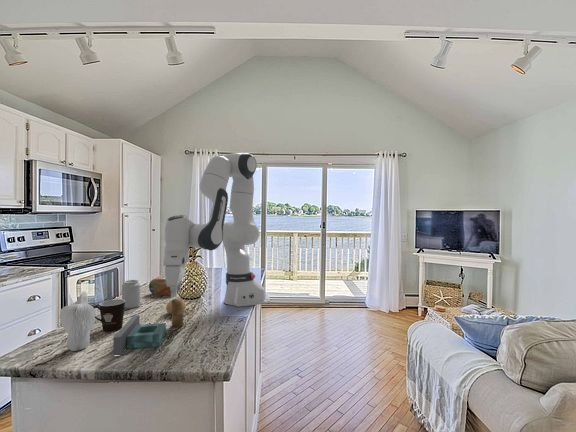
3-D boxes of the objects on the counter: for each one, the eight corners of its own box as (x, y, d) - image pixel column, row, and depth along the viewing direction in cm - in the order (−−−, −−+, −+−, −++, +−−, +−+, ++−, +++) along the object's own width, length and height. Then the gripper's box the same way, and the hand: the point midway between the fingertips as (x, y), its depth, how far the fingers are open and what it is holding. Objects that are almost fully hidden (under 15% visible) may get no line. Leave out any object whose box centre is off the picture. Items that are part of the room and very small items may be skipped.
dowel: (183, 323, 123) (183, 298, 123) (182, 327, 119) (181, 301, 119) (173, 324, 122) (172, 298, 122) (171, 328, 118) (170, 301, 118)
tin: (148, 294, 164) (148, 278, 164) (152, 292, 167) (152, 277, 167) (174, 296, 161) (173, 280, 161) (177, 294, 164) (177, 278, 164)
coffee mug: (130, 325, 120) (130, 300, 120) (111, 334, 112) (111, 307, 112) (108, 322, 124) (107, 297, 124) (87, 330, 116) (87, 303, 116)
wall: (139, 330, 115) (139, 314, 115) (120, 356, 96) (120, 337, 95) (133, 331, 115) (133, 315, 115) (113, 356, 95) (113, 337, 95)
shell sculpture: (71, 357, 95) (70, 298, 95) (58, 350, 99) (57, 294, 99) (99, 346, 102) (98, 292, 102) (86, 341, 106) (85, 289, 106)
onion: (164, 317, 130) (164, 300, 130) (168, 311, 138) (168, 295, 138) (184, 315, 132) (184, 299, 131) (186, 309, 139) (186, 294, 139)
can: (143, 304, 147) (143, 279, 147) (134, 309, 139) (133, 283, 139) (128, 304, 148) (128, 278, 147) (118, 309, 140) (118, 282, 140)
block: (165, 334, 112) (165, 323, 112) (159, 346, 102) (159, 334, 102) (136, 336, 110) (136, 325, 110) (126, 348, 101) (126, 336, 100)
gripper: (173, 254, 129) (172, 287, 129) (162, 261, 109) (161, 300, 109) (188, 253, 130) (188, 286, 131) (181, 261, 110) (180, 300, 110)
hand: (176, 293), depth 120 cm, fingers open, 8 cm apart
